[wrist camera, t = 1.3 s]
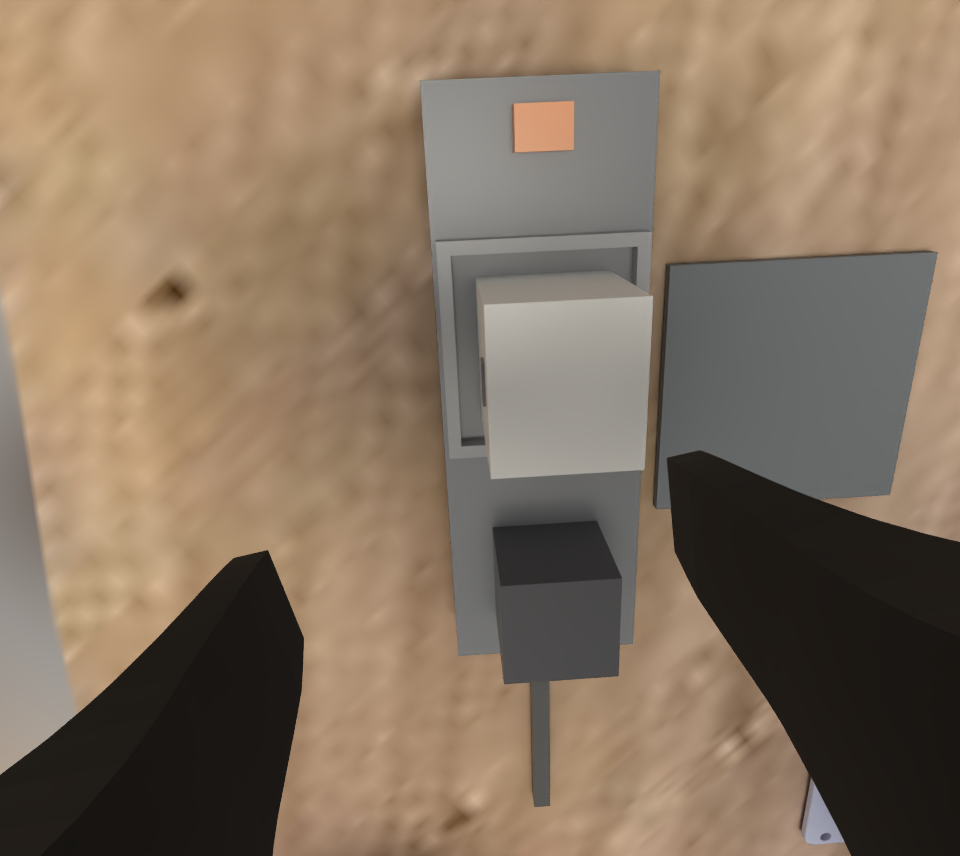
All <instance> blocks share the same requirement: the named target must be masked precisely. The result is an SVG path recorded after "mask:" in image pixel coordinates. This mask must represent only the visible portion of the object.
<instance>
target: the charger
mask: <svg viewBox="0 0 960 856" xmlns="http://www.w3.org/2000/svg"><path fill="white" fill-rule="evenodd" d="M475 278H476V301H477V323H478V346H479V368H480V391H481V413H482V424H483V431H484V437H485V444H486V450H487V457H488V463H489V470H490V477H491V479H503V478H520V477H536V476H553V475H569V474H586V473H603V472H619V471H636V470H645V452H646V431H647V411H648V391H649V371H650V351H651V331H652V311H653V296H652V295H651V294H649V293H647V292H646V291H644V290H642V289H640V288H639V287H637V286H635V285H634V284H632V283H630V282H629V281H627V280H625V279H623V278H622V277H620V276H618V275H617V274H615V273H613V272H612V271H610V270H603V271H583V272H563V273H543V274H524V275H504V276H484V277H475Z"/></svg>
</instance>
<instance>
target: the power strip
mask: <svg viewBox="0 0 960 856" xmlns="http://www.w3.org/2000/svg"><path fill="white" fill-rule="evenodd" d="M659 85H660V71H640V72H615V73H591V74H567V75H543V76H519V77H494V78H470V79H446V80H422V81H420V88H421V103H422V118H423V133H424V148H425V163H426V178H427V193H428V208H429V223H430V238H431V253H432V268H433V283H434V298H435V313H436V328H437V343H438V358H439V372H440V387H441V402H442V417H443V432H444V447H445V462H446V477H447V492H448V507H449V522H450V537H451V552H452V567H453V582H454V597H455V612H456V627H457V642H458V656H465V655H480V654H495V653H501V662H502V670H503V679H504V684H514V683H528V682H530V692H531V742H532V793H533V800H534V807H541V806H550V739H549V681H557V680H571V679H585V678H600V677H614V676H618V675H619V649H620V645H626V644H633V629H634V608H635V587H636V566H637V545H638V524H639V503H640V482H641V470H636V471H619V472H603V473H586V474H569V475H553V476H536V477H520V478H503V479H491V477H490V470H489V463H488V457H487V450H486V444H485V437H484V431H483V424H482V413H481V391H480V368H479V346H478V323H477V301H476V278H475V277H484V276H504V275H524V274H543V273H563V272H583V271H603V270H610V271H612V272H613V273H615V274H617V275H618V276H620V277H622V278H623V279H625V280H627V281H629V282H630V283H632V284H634V285H635V286H637V287H639V288H640V289H642V290H644V291H646V292H647V293H649V294H650V273H651V252H652V231H653V210H654V189H655V168H656V147H657V126H658V106H659Z"/></svg>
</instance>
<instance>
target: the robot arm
mask: <svg viewBox="0 0 960 856" xmlns="http://www.w3.org/2000/svg"><path fill="white" fill-rule="evenodd" d="M667 469H668V480H669V492H670V503H671V514H672V526H673V537H674V549H675V553H676V555H677V557H678V559H679V561H680V563H681V565H682V567H683V570H684V572H685V574H686V576H687V578H688V580H689V582H690V584H691V586H692V588H693V589H694V591H695V593H696V595H697V597H698V599H699V600H700V602H701V603H702V605H703V606H704V608H705V609H706V611H707V612H708V614H709V615H710V617H711V618H712V620H713V621H714V623H715V624H716V626H717V627H718V629H719V630H720V632H721V633H722V635H723V636H724V638H725V639H726V641H727V642H728V643H729V645H730V646H731V648H732V649H733V651H734V652H735V654H736V655H737V657H738V658H739V660H740V661H741V662H742V664H743V665H744V667H745V668H746V670H747V671H748V673H749V674H750V676H751V677H752V679H753V680H754V681H755V683H756V684H757V686H758V687H759V689H760V690H761V692H762V693H763V695H764V696H765V698H766V699H767V701H768V702H769V704H770V705H771V707H772V709H773V710H774V712H775V713H776V715H777V717H778V718H779V720H780V721H781V723H782V725H783V727H784V728H785V730H786V732H787V734H788V736H789V738H790V739H791V741H792V743H793V745H794V747H795V749H796V751H797V752H798V754H799V756H800V758H801V760H802V762H803V763H804V765H805V767H806V769H807V771H808V773H809V774H810V776H811V781H810V786H809V792H808V797H807V803H806V808H805V814H804V819H803V825H802V830H801V834H802V836H803V838H804V840H805V841H806V843H808V844H827V843H840V842H845V844H846V846H847V848H848V850H849V852H850V854H851V856H960V542H957V541H953V540H948V539H944V538H940V537H936V536H932V535H928V534H924V533H920V532H917V531H913V530H910V529H906V528H903V527H899V526H896V525H892V524H889V523H885V522H882V521H878V520H875V519H872V518H869V517H866V516H863V515H859V514H857V513H854V512H851V511H848V510H845V509H843V508H840V507H837V506H834V505H831V504H829V503H826V502H823V501H820V500H818V499H815V498H813V497H810V496H808V495H805V494H803V493H800V492H798V491H795V490H793V489H790V488H788V487H786V486H783V485H781V484H779V483H776V482H774V481H771V480H769V479H767V478H765V477H762V476H760V475H758V474H756V473H753V472H751V471H749V470H747V469H744V468H742V467H740V466H738V465H735V464H733V463H731V462H728V461H726V460H724V459H722V458H719V457H717V456H715V455H712V454H710V453H707V452H704V451H701V450H698V451H694V452H689V453H685V454H681V455H677V456H672V457H668V458H667ZM303 651H304V637H303V635H302V632H301V630H300V627H299V625H298V623H297V620H296V618H295V615H294V613H293V610H292V608H291V605H290V603H289V601H288V598H287V596H286V593H285V591H284V588H283V586H282V583H281V581H280V579H279V576H278V574H277V571H276V569H275V566H274V564H273V561H272V559H271V556H270V554H269V552H268V550H267V551H262V552H258V553H254V554H249V555H245V556H241V557H236V558H233V559H232V560H231V561H230V562H229V563H228V564H227V565H226V566H225V567H224V568H223V569H222V570H221V571H220V572H219V573H218V574H217V575H216V576H215V577H214V578H213V579H212V580H211V581H210V582H209V583H208V584H207V586H206V587H205V588H204V589H203V590H202V591H201V592H200V593H199V594H198V595H197V596H196V597H195V599H194V600H193V601H192V602H191V603H190V604H189V605H188V606H187V607H186V608H185V609H184V610H183V611H182V612H181V614H180V615H179V616H178V617H177V618H176V619H175V620H174V621H173V622H172V623H171V624H170V625H169V626H168V627H167V628H166V630H165V631H164V632H163V633H162V634H161V635H160V636H159V637H158V638H157V639H156V640H155V641H154V642H153V643H152V644H151V645H150V646H149V647H148V648H147V649H146V650H145V651H144V652H143V653H142V654H141V655H140V656H139V657H138V658H137V659H136V660H135V661H134V662H133V663H132V664H131V665H130V666H129V667H128V668H127V669H126V670H125V671H124V672H123V673H122V674H121V675H120V676H119V677H118V678H117V679H116V680H115V681H114V682H113V683H111V684H110V685H109V686H108V687H107V688H106V689H105V690H104V691H103V692H102V693H101V694H100V695H98V696H97V697H96V698H95V699H94V700H93V701H92V702H91V703H89V704H88V705H87V706H86V707H85V708H84V709H83V710H81V711H80V712H79V713H78V714H77V715H76V716H74V717H73V718H72V719H71V720H70V721H68V722H67V723H66V724H65V725H64V726H63V727H61V728H60V729H59V730H58V731H57V732H55V733H54V734H53V735H52V736H50V738H48V739H47V740H46V741H44V742H43V743H42V744H41V745H39V746H38V747H37V748H35V749H34V750H33V751H31V752H30V753H29V754H27V755H26V756H25V757H23V758H22V759H21V760H19V761H18V762H17V763H15V764H14V765H13V766H11V767H10V768H9V769H7V770H6V771H5V772H3V773H2V774H1V775H0V856H273V846H274V839H275V832H276V825H277V819H278V813H279V808H280V802H281V797H282V792H283V787H284V782H285V776H286V771H287V766H288V761H289V756H290V751H291V745H292V740H293V735H294V730H295V724H296V719H297V713H298V708H299V702H300V696H301V690H302V674H303Z"/></svg>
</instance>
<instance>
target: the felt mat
mask: <svg viewBox="0 0 960 856" xmlns="http://www.w3.org/2000/svg"><path fill="white" fill-rule="evenodd" d="M937 254H938V252H933V251H920V252H900V253H880V254H861V255H841V256H821V257H801V258H781V259H762V260H742V261H722V262H702V263H682V264H667V268H666V286H665V303H664V321H663V339H662V357H661V375H660V393H659V410H658V428H657V446H656V464H655V482H654V500H653V505H654V506H655V508H656V509H670V508H671V503H670V492H669V480H668V469H667V458H668V457H672V456H677V455H681V454H685V453H689V452H694V451H698V450H701V451H704V452H707V453H710V454H712V455H715V456H717V457H719V458H722V459H724V460H726V461H728V462H731V463H733V464H735V465H738V466H740V467H742V468H744V469H747V470H749V471H751V472H753V473H756V474H758V475H760V476H762V477H765V478H767V479H769V480H771V481H774V482H776V483H779V484H781V485H783V486H786V487H788V488H790V489H793V490H795V491H798V492H800V493H803V494H805V495H808V496H810V497H813V498H815V499H831V498H847V497H863V496H879V495H890V492H891V487H892V482H893V477H894V472H895V467H896V462H897V457H898V452H899V447H900V442H901V437H902V431H903V426H904V421H905V416H906V411H907V406H908V401H909V396H910V391H911V386H912V381H913V376H914V370H915V365H916V360H917V355H918V350H919V345H920V340H921V335H922V330H923V325H924V320H925V315H926V310H927V304H928V299H929V294H930V289H931V284H932V279H933V274H934V269H935V264H936V259H937Z"/></svg>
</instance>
